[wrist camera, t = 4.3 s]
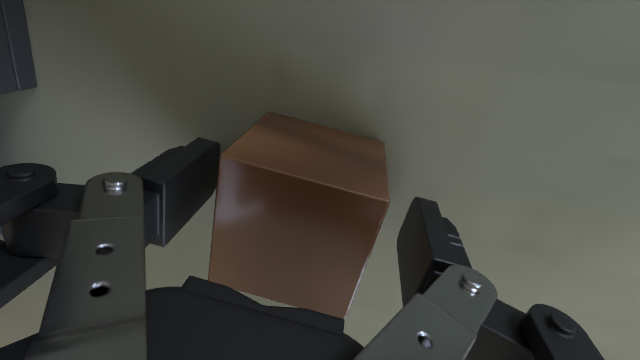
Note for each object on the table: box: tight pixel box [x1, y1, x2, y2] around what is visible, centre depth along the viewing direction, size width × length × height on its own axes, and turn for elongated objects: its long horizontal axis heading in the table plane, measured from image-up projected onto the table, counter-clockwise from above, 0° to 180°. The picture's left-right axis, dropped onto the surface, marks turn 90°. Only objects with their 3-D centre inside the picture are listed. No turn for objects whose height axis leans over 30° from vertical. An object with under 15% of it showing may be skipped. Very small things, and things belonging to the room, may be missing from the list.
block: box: [208, 112, 390, 320], centre depth 11 cm, size 4×4×4 cm
